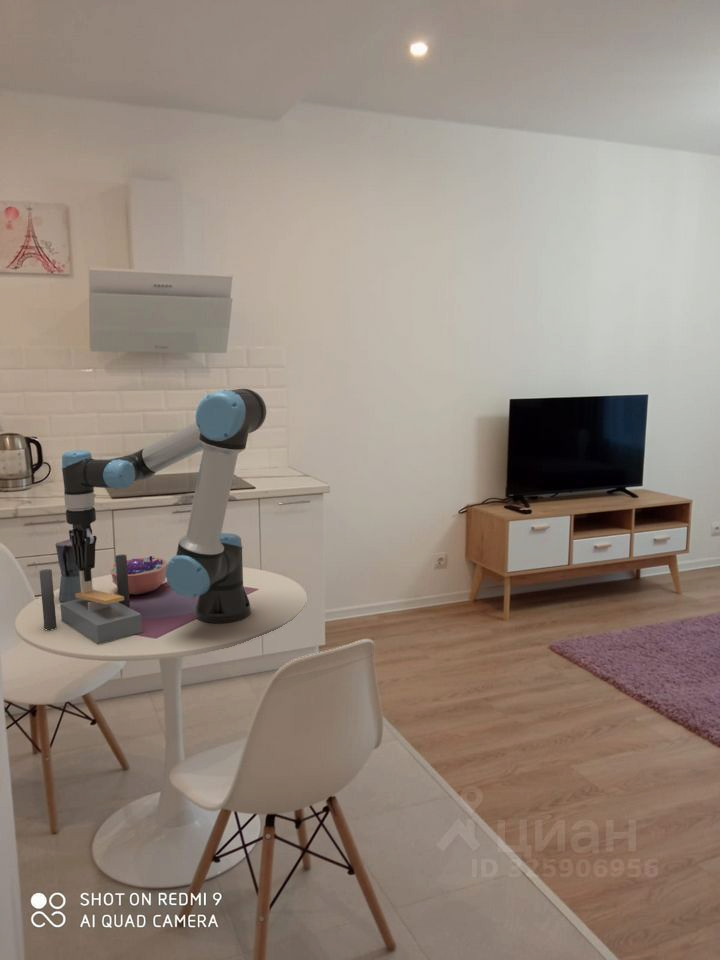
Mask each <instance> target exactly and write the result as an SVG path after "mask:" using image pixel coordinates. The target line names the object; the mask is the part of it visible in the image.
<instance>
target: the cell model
mask: <svg viewBox="0 0 720 960" xmlns="http://www.w3.org/2000/svg"><path fill="white" fill-rule="evenodd" d="M167 564H168V562H167V561H166V560H164V558H161V557H160V558H158V557H155V556H153V555H150V556H148V557H140V558H132V559H127V571H128V587H129V595H135V596H136V595H141V594H147V593H151V592H153V591H155V590H156V589H158V588H159V587H160V586H161V585H162V584H163V583H164V582H166V580H167V578H166V567H167ZM111 568H112V569H111V570H110V574H111V579H112V583H114V584H115V586H117V573H116V563H114V564H112V566H111Z"/></svg>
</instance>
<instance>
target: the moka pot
mask: <svg viewBox="0 0 720 960" xmlns="http://www.w3.org/2000/svg"><path fill="white" fill-rule="evenodd" d="M68 535H69V539H66V540H62V541H58V542H55V549H56V553H57V554H56V555H57V561H58V564H59V565H58V566H59V569H60V575H61V576H60V583H59V584H60V585H59V593H58V600H59V602H60V603H63V602H68V601H72V600H76V599H81V598H77V597H75V594H76V593H80V592H81V586H80V573H79V568H78V565H75V560H74V554H73V548H72V542H71V537H70V534H69V533H68Z"/></svg>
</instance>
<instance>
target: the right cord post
mask: <svg viewBox="0 0 720 960" xmlns="http://www.w3.org/2000/svg"><path fill="white" fill-rule="evenodd" d="M127 557H128V556H127V554H118V555H115V564H116V573H117V585H116V586H117V595H120V596H124V600H123V601H118V602H119V603H121V604H123V605H125V606H127V607H129V608H131V606H130V605H131V604H130V593H129V587H128V571H127V560H128V559H127Z"/></svg>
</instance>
